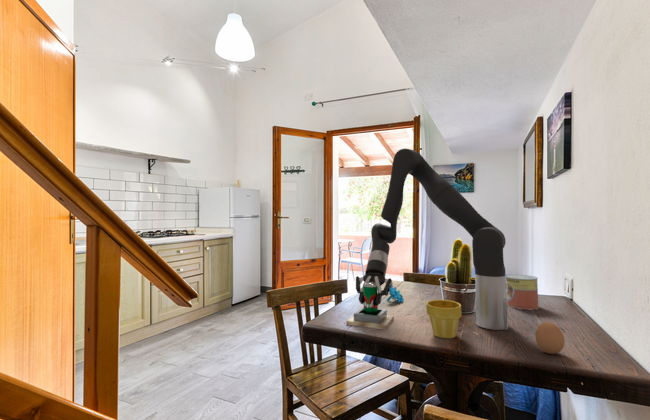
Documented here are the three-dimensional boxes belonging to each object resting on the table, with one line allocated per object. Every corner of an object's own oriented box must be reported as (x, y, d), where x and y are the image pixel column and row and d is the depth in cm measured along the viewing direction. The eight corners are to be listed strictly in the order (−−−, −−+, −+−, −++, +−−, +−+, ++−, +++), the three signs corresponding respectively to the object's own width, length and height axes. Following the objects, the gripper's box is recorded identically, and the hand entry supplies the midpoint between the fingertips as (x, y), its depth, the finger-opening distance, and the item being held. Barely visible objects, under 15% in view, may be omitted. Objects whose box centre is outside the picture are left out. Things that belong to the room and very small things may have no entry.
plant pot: (427, 339, 98) (426, 306, 98) (426, 328, 108) (425, 298, 108) (464, 342, 95) (463, 308, 95) (459, 330, 105) (458, 300, 105)
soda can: (379, 315, 117) (378, 282, 117) (375, 319, 112) (374, 284, 112) (366, 313, 119) (365, 281, 119) (361, 317, 114) (361, 283, 114)
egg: (568, 359, 82) (567, 327, 83) (539, 356, 85) (537, 324, 85) (560, 350, 88) (559, 319, 89) (533, 347, 91) (532, 317, 91)
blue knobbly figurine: (399, 301, 136) (384, 283, 141) (390, 310, 138) (375, 291, 143) (408, 299, 145) (394, 282, 150) (399, 308, 147) (385, 290, 152)
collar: (386, 316, 117) (386, 309, 118) (380, 323, 109) (380, 316, 109) (362, 313, 121) (361, 306, 121) (353, 320, 113) (353, 313, 113)
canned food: (501, 302, 139) (500, 274, 139) (528, 302, 138) (527, 274, 139) (515, 310, 128) (514, 279, 128) (545, 309, 127) (543, 279, 127)
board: (393, 319, 118) (393, 315, 118) (386, 329, 107) (385, 325, 107) (357, 315, 123) (357, 312, 123) (346, 324, 112) (346, 321, 113)
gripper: (357, 258, 126) (347, 296, 114) (394, 259, 120) (387, 299, 108) (361, 269, 130) (352, 307, 119) (397, 271, 124) (391, 311, 113)
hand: (369, 303), depth 114 cm, fingers closed on soda can, 5 cm apart
